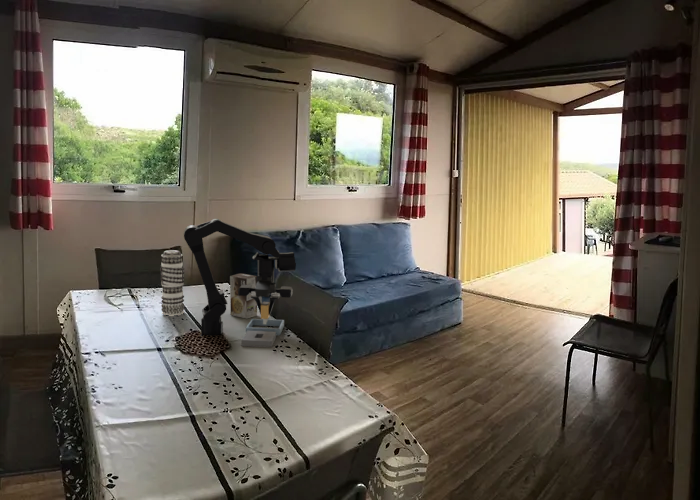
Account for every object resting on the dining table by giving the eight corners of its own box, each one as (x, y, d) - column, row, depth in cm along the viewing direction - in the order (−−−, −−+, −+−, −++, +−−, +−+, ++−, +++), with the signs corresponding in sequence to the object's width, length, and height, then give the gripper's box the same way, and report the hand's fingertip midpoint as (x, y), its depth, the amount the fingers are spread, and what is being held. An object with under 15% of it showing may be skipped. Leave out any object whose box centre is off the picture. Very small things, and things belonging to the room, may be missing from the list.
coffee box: (257, 315, 215) (258, 275, 213) (246, 319, 210) (246, 278, 207) (241, 311, 220) (241, 272, 218) (229, 314, 215) (229, 275, 212)
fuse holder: (241, 348, 177) (241, 340, 177) (247, 338, 187) (247, 330, 187) (271, 349, 177) (271, 341, 177) (276, 339, 187) (276, 331, 187)
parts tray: (245, 336, 190) (245, 327, 189) (251, 326, 201) (251, 318, 200) (279, 337, 190) (280, 329, 189) (284, 327, 201) (284, 320, 200)
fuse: (260, 324, 192) (260, 304, 191) (262, 320, 197) (263, 301, 196) (267, 324, 192) (268, 304, 191) (269, 321, 197) (270, 301, 196)
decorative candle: (156, 315, 210) (154, 252, 206) (167, 309, 219) (166, 248, 215) (178, 317, 209) (177, 253, 205) (189, 311, 218) (188, 250, 214)
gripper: (234, 275, 184) (234, 319, 186) (289, 277, 184) (288, 321, 186) (241, 269, 195) (241, 311, 197) (293, 271, 195) (292, 313, 197)
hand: (265, 314), depth 194 cm, fingers closed on fuse, 3 cm apart
